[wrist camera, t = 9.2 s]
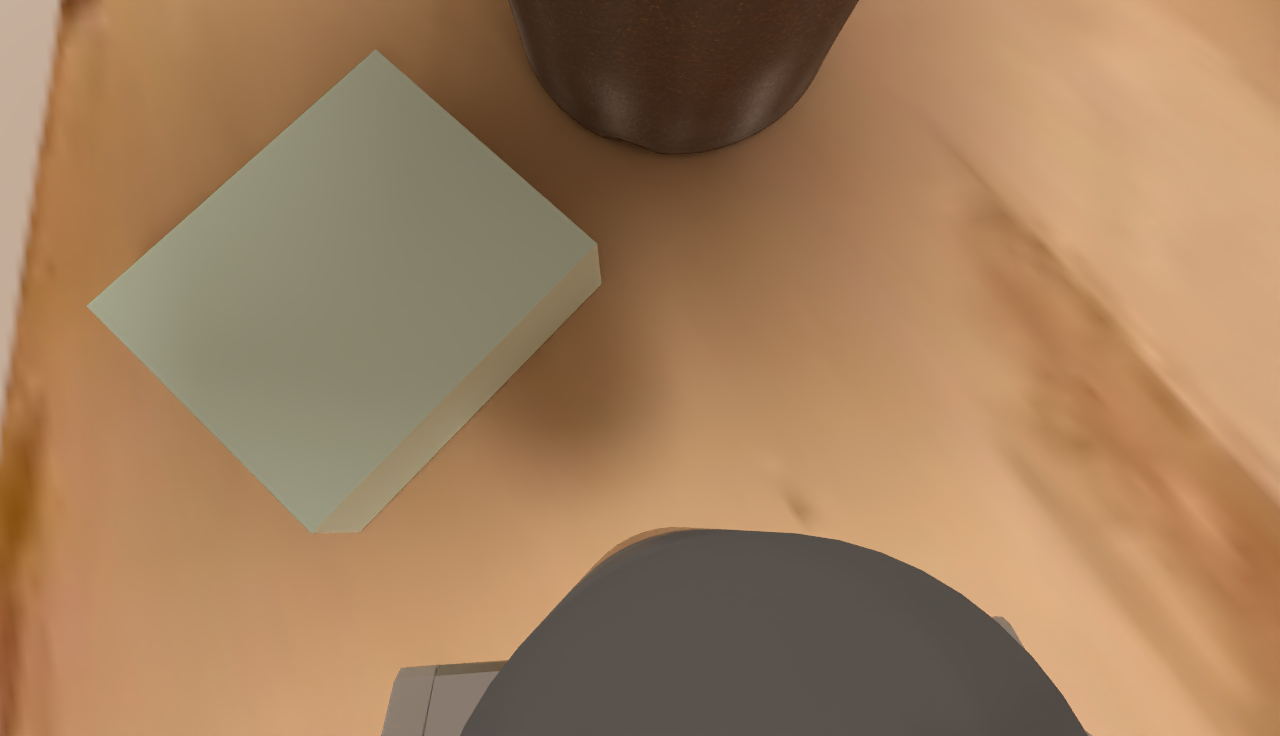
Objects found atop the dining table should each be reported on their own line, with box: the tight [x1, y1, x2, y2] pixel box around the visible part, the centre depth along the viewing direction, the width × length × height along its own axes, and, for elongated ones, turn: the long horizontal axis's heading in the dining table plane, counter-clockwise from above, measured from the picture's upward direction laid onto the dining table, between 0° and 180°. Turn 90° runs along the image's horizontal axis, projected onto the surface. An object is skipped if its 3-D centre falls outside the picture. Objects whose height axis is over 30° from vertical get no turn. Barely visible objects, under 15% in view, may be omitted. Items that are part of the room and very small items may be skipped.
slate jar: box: [460, 527, 1088, 736], centre depth 11 cm, size 5×5×12 cm
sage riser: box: [87, 49, 601, 533], centre depth 25 cm, size 12×10×4 cm
